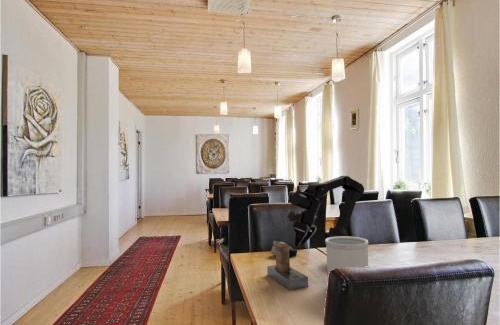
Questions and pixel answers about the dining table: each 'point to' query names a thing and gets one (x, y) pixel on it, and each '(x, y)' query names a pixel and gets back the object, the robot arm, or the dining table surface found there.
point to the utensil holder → (346, 252)
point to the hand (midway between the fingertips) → (299, 245)
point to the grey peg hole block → (288, 278)
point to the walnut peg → (282, 258)
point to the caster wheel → (291, 250)
